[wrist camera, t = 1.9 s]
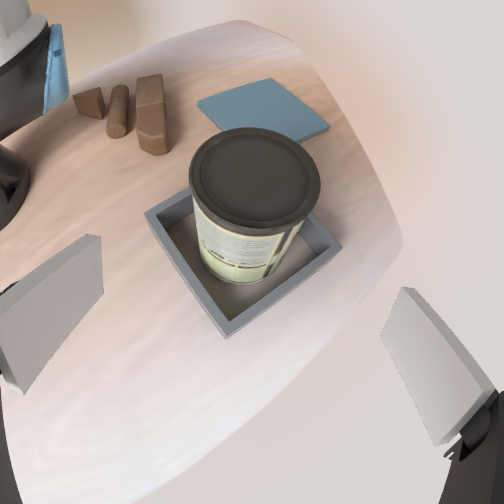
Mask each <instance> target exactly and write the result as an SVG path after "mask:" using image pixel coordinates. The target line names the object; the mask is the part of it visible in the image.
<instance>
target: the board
mask: <svg viewBox="0 0 504 504" xmlns="http://www.w3.org/2000/svg"><path fill="white" fill-rule="evenodd" d="M197 106H198V107H199V108H200V109H201V110H202V111H203V112H204V113H205V114H206V115H207V116H208V117H209V118H210V119H211V120H212V121H213V122H214V123H215V124H216V125H217V126H218V127H219V128H220V129H221V130H222V131H223V132H224V131H227V130H230V129H235V128H242V127H255V128H263V129H268V130H272V131H275V132H278V133H280V134H283V135H285V136H287V137H288V138H290V139H292V140H293V141H295V142H296V143H300V142H302V141H304V140H306V139H308V138H311V137H313V136H315V135H318V134H320V133H322V132H324V131H327V130H328V129H329V127H330V125H328V124H327V123H326V122H325V121H324V120H323V119H322V118H320V117H319V116H318V115H317V114H316V113H315V112H313V111H312V110H311V109H310V108H309V107H307V106H306V105H305V104H304V103H302V102H301V101H300V100H299V99H297V98H296V97H295V96H294V95H292V94H291V93H290V92H288V91H287V90H286V89H285V88H283V87H282V86H281V85H279V84H278V83H276V82H275V81H274V80H272V79H271V78H268V79H265V80H261V81H257V82H254V83H251V84H247V85H244V86H241V87H237V88H234V89H231V90H228V91H225V92H222V93H219V94H217V95H214V96H211V97H208V98H205V99H203V100H200V101H197Z"/></svg>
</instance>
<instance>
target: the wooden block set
mask: <svg viewBox="0 0 504 504" xmlns="http://www.w3.org/2000/svg"><path fill="white" fill-rule="evenodd" d="M128 95H129V89H128V87H127V86H125V85H117V86H116V87H114V88H113V90H112V94H111V100H110V108H109V115H108V124H107V135H108V136H109V137H110V138H113V139H118V138H121V137H123V136H124V135H125V134H126V131H127V110H128ZM73 99H74V101H75V104H76V107H77V109H78V112H79V113H82V114H84V115H87V116H90V117H93V118H96V119H101V120H103V113H104V107H105V103H104V100H103V96H102V93H101V89H100V87H98V88H95V89H92V90H88V91H85V92H82V93H79V94H76V95H73ZM136 111H137V136H138V140H139V144H140V147H141V149H142V150H144V151H146V152H148V153H150V154H152V155H156V156H157V155H162V154H167V153H168V152H169V147H168V139H167V131H166V121H165V120H166V119H167V117H166V107H165V97H164V87H163V77H162V74H157V75H151V76H146V77H141V78H138V79H137V85H136Z"/></svg>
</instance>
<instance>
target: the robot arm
mask: <svg viewBox="0 0 504 504" xmlns="http://www.w3.org/2000/svg"><path fill="white" fill-rule="evenodd" d="M68 95H69V82H68V74H67V66H66V58H65V50H64V41H63V33H62V26H61V24H56V25H55V24H53V25H51V26H50V27H49V26H48V23H47V19H46V17H45V16H44V15H40V14H35V13H32V12H31V11H30V7H29V4H28V1H27V0H0V141H2V140H3V139H5V138H6V137H8V136H9V135H11V134H12V133H14V132H15V131H17V130H18V129H20V128H22V127H23V126H25V125H27V124H28V123H30V122H32V121H33V120H35V119H37V118H38V117H40V116H44V115H45V114H46V113H47V112H48V111H50V110H52V109H53V108H55V107H57V106H59V105H60V104H62V103H63V102H64V101H65V100H66V99H67V97H68ZM29 182H30V171H29V168H28V166H27V165H26V163H25V162H24V160H23V159H22V158H21V157H20V156H19V155H17V154H16V153H14V152H12V151H11V150H9V149H7V148H6V147H4V146H2V145H1V144H0V230H1V229H2V228H4V227H5V226H6V225H7V224H8V223H9V221H10V220H11V219H12V218H13V217H14V215H15V214H16V212H17V211H18V209H19V208H20V206H21V204H22V202H23V200H24V198H25V196H26V193H27V190H28V187H29ZM103 294H104V289H103V276H102V258H101V237H100V236H95V235H89V234H86V235H84V236H83V237H81V238H79V239H78V240H76V241H75V242H73V243H72V244H70V245H69V246H67V247H66V248H64V249H63V250H61V251H60V252H59V253H57V254H56V255H54V256H53V257H51V258H50V259H48V260H47V261H46V262H44V263H43V264H41V265H40V266H39V267H37V268H36V269H35V270H33V271H32V272H31V273H29V274H28V275H27V276H25V277H24V278H23V279H21V280H20V281H17V282H15V283H13V284H11V285H10V286H9V287H7V288H6V289H5V290H4V291H3V293H2V292H1V293H0V375H1V373H2V375H3V377H4V379H5V381H6V383H7V384H8V386H9V387H11V388H13V389H14V390H16V391H18V392H19V393H21V394H23V395H25V393H26V392H27V390H28V389H29V387H30V386H31V384H32V383H33V382H34V380H35V379H36V377H37V376H38V375H39V373H40V372H41V371H42V369H43V368H44V366H45V365H46V364H47V362H48V361H49V360H50V358H51V357H52V356H53V354H54V353H55V352H56V351H57V349H58V348H59V347H60V345H61V344H62V343H63V342H64V340H65V339H66V338H67V337H68V335H69V334H70V333H71V332H72V330H73V329H74V328H75V327H76V325H77V324H78V323H79V322H80V321H81V319H82V318H83V317H84V316H85V315H86V313H87V312H88V311H89V310H90V309H91V308H92V306H93V305H94V304H95V303H96V302H97V301H98V299H99V298H100V297H101V296H102V295H103ZM380 337H381V339H382V341H383V343H384V345H385V347H386V348H387V350H388V352H389V354H390V355H391V358H392V359H393V361H394V364H395V365H396V367H397V369H398V371H399V373H400V375H401V377H402V379H403V381H404V383H405V385H406V387H407V389H408V391H409V393H410V395H411V397H412V399H413V401H414V403H415V405H416V407H417V410H418V412H419V414H420V416H421V418H422V420H423V423H424V425H425V427H426V429H427V431H428V434H429V435H430V438H431V440H432V443H433V445H434V447H435V446H438V445H442V444H445V443H448V442H450V441H451V440H452V439H453V438H454V436H456V435H457V434H458V433H459V432H460V434H461V436H462V437H461V438H460V439H459V440H458V441H457V442H456V443H455V444H454V445H453V446H452V447H451V448H450V449H449V450H448V451H447V452H446V453H445V454H444V457H447V456H448V455H449V454H450V453H451V452H454V454H453V455H452V456H451V457H449V459H450V460H452V462H451V466H450V470H449V473H448V477H447V480H446V483H445V487H444V490H443V493H442V495H441V498H440V501H439V504H504V391H502V392H501V393H500V394H499V393H498V391H497V390H496V389H495V387H494V385H493V384H492V382H491V381H490V380H489V378H488V377H487V375H486V374H485V373H484V371H483V370H482V369H481V367H480V366H479V365H478V363H477V362H476V361H475V360H474V358H473V357H472V355H471V354H470V353H469V352H468V351H467V349H466V348H465V347H464V345H463V344H462V343H461V342H460V340H459V339H458V338H457V337H456V335H454V333H453V332H452V331H451V329H450V328H449V327H448V326H447V325H446V323H445V322H444V321H443V320H442V319H441V318H440V317H439V315H438V314H437V313H436V312H435V311H434V310H433V309H432V307H431V306H430V305H429V304H428V303H427V302H426V301H425V299H424V298H423V297H422V296H421V295H420V294H419V293H418V292H417V291H416V290H415V289H414V288H408V287H401V289H400V292H399V295H398V297H397V299H396V302H395V304H394V306H393V309H392V311H391V313H390V315H389V318H388V320H387V322H386V324H385V326H384V329H383V331H382V333H381V335H380ZM0 504H23V503H22V500H21V497H20V494H19V491H18V488H17V484H16V481H15V477H14V473H13V469H12V465H11V461H10V456H9V452H8V447H7V441H6V435H5V429H4V421H3V413H2V402H1V388H0Z"/></svg>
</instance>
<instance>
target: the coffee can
mask: <svg viewBox="0 0 504 504" xmlns="http://www.w3.org/2000/svg"><path fill="white" fill-rule="evenodd" d="M189 185H190V189H191V193H192V196H193V204H194V212H195V220H196V228H197V234H198V241H199V252H200V256H201V259H202V261H203V263H204V265H205V266H206V268H207V269H208V270H209V271H210V272H211V273H212V274H213V275H214V276H216V277H217V278H218V279H220V280H222V281H224V282H227V283H230V284H234V285H251V284H255V283H258V282H261V281H263V280H264V279H266V278H268V277H269V276H270V275H271V274H273V273H274V271H275V270H276V269H277V267H278V266H279V264H280V262H281V259H282V257H283V256H284V254H285V252H286V251H287V249H288V247H289V245H290V244H291V242H292V240H293V239H294V237H295V235H296V234H297V232H298V230H299V229H300V226H301V225H302V223H303V221H304V219H305V218H306V217H307V216H308V215H309V213H310V212H311V211H312V209H313V208H314V206H315V204H316V202H317V200H318V197H319V194H320V186H321V185H320V177H319V172H318V170H317V167H316V165H315V163H314V161H313V159H312V158H311V156H310V155H309V154H308V153H307V151H305V149H304V148H302V147H301V146H300V145H299V144H298V143H296V142H295V141H293V140H292V139H290V138H288V137H287V136H285V135H283V134H280V133H278V132H275V131H272V130H268V129H263V128H255V127H242V128H235V129H230V130H227V131H224V132H221V133H219V134H217V135H214V136H213V137H211V138H210V139H208V140H207V141H206V142H205V143H203V144H202V145H201V146H200V147H199V149H198V150H197V151H196V153H195V154H194V156H193V158H192V160H191V164H190V168H189Z"/></svg>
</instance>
